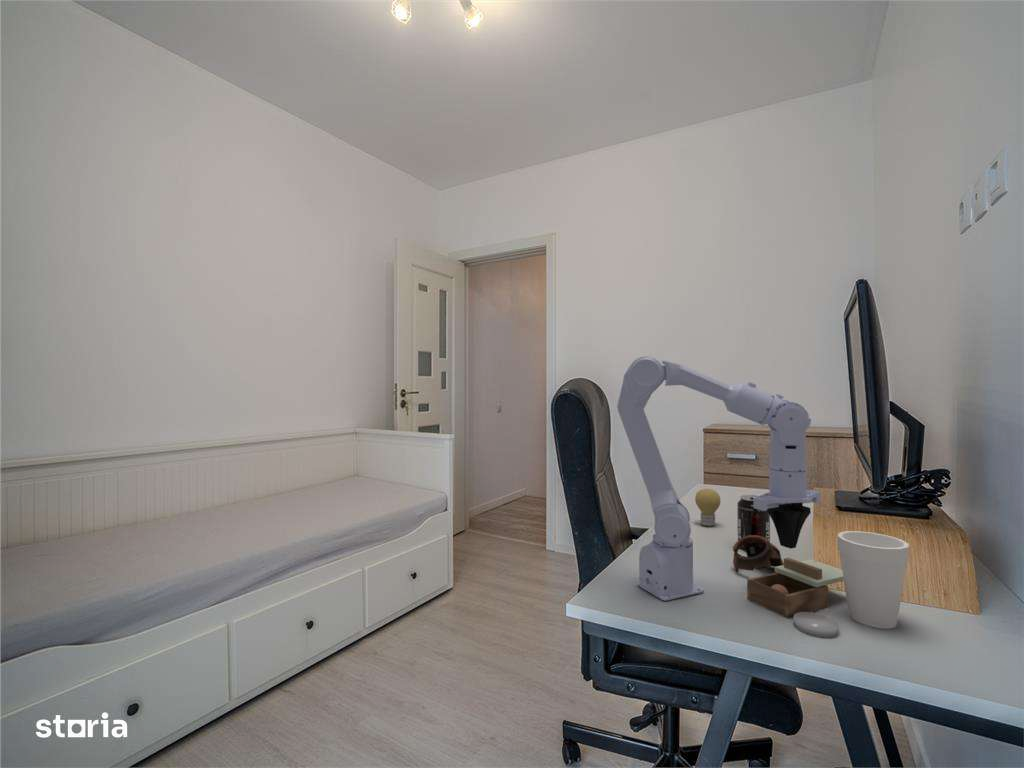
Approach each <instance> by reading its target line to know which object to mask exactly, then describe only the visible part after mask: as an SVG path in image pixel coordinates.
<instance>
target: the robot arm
mask: <svg viewBox="0 0 1024 768" xmlns="http://www.w3.org/2000/svg"><path fill="white" fill-rule="evenodd" d="M661 362H662V363H661ZM661 362H660V360H658V359H656V358H655V357H653V356H648V355H643V356H639V357H638V358H635V359H634V361H632V362H631V364H630V365H629V367H628V368H627V370H626V371H625V373H624V375H623V379H622V386H621V388H620V393H619V397H618V402H617V405H616V407H617V412H618V414H619V416H620V419H621V423H622V426H623V428H624V430H625V433H626V437H627V439H628V442H629V443H630V444H629V445H630V447H631V450H632V452H633V455H634V458H635V461H636V463H637V466H638V468H639V471H640V474H641V476H642V479H643V482H644V483H643V484H644V486H645V488H646V491H647V493H648V497H649V500H650V504H651V509H652V513H653V515H654V524H653V529H654V534H653V535H652V540H651V542H649V543H648V544H645V545H643V546H642V547H641V549H640V551H639V555H638V556H639V557H638V558H639V561H638V562H639V563H638V564H639V566H638V567H639V571H638V573H639V578H638V579H639V581H638V582H636V585H637V586H638V587H640V588H642V589H643V590H645V591H646V592H649V593H650V594H651V595H653V596H655V597H657V598H658V599H660V600H661V601H665V602H667V601H671V600H674V599H679V598H684V597H688V596H693V595H697V594H701V593H705V592H704V591H705V590H704V588H702V587H700V586H698V585H697V584H694V540H693V538H692V537H690V536H691V533H692V529H691V528H692V527H691V524H690V520H691V518H690V512H689V511H688V509H687V507H686V506H685V505H684V504H683V503H682V502H681V501H680V498H678V495H677V492H676V490H675V488H674V487H673V484H672V481H671V479H670V476H669V474H668V470H667V468H666V465H665V462H664V460H663V458H662V455H661V452H660V450H659V447H658V444H657V442H656V439H655V436H654V434H653V430H652V429H651V426H650V423H649V420H648V418H647V415H646V412H645V408H646V405H647V403H648V402H649V400H650V398H651V395H652V394H653V393H654V392H655V391H657V389H659V387H660V386H661V385H662V384H663V382H664V381H665V385H664V386H666V387H667V386H668V387H669V386H683V387H686V388H688V389H691V390H694V391H696V392H699V393H702V394H705V395H708V396H710V397H711V398H715V399H717V400H721V401H722V402H723V403H724V406H725V408H726V411H727V412H729V413H733V414H734V415H737V416H739V417H742V418H744V419H747V420H748V421H752V422H754V423H756V424H759V425H761V426H764V425H767V426H768V428H770V429H769V431H770V432H769V435H770V437H769V440H770V441H769V444H768V445H769V446H768V447H769V448H768V449H769V451H768V453H769V455H768V457H769V461H768V462H769V468H768V470H769V474H768V475H769V476H768V478H769V485H768V486H769V490H768V492H765V493H763V494H761V495H756V496H757V497H754V508H755V509H759V510H763V511H765V510H767V512H768V513H769V515H770V519H771V520H772V522H773V524H774V527H775V530H776V534H777V537H778V540H779V545H780V546H781V547H784V548H787V549H790V550H791V549H795V548H797V545H798V541H799V538H800V534H801V530H802V528H803V526H804V524H805V522H806V521H807V519H808V517H809V516H810V514H811V507H809V506H805V505H804V504H811V503H814V504H815V503H817V504H818V503H821V491H818V490H813V489H807V486H808V485H807V443H806V437H807V434H806V431H807V430H808V429H809V428H810V426H811V423H812V419H811V418H810V415H809V413H808V411H807V409H805V407H804V406H803V405H802V404H799V403H798V402H794V401H793V402H792V401H789V400H787V399H784V395H783V394H779V393H776V394H772V393H770V392H767V391H765V390H763V389H759V388H757V384H756V383H754V382H751V381H748V382H747V383H745V382H743V381H742V382H737V383H736V384H732V385H729V384H728V383H725V382H722V381H720V380H718V379H715V378H713V377H711V376H708V375H707V374H704V373H702V372H699V371H697V370H695V369H692V368H689V367H688V366H686V365H684V364H683V365H682V364H679V363H676V362H671V361H667V360H662V359H661Z"/></svg>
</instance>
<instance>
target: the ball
mask: <svg viewBox="0 0 1024 768" xmlns="http://www.w3.org/2000/svg"><path fill="white" fill-rule="evenodd" d="M771 588H773V589H776V590H778V591H780V592H783V593H785V594H789V593H788V591H787V589H786V588H785V587H784V586H782V585H779V584H776V585H773V586H772V587H771Z"/></svg>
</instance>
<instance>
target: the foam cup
mask: <svg viewBox="0 0 1024 768" xmlns="http://www.w3.org/2000/svg"><path fill="white" fill-rule="evenodd" d="M837 551H838V552H839V559H840V565H841V569H842V572H843V579H844V581H843V584H844V591H845V597H846V603H847V610H848V615H849V617H851V619H852V620H854V621H855V622H858V623H860V624H862V625H865V626H869V627H872V628H878V629H894V628H896V627H897V624H898V621H899V620H898V619H899V614H900V607H901V599H902V596H903V595H902V594H903V588H904V582H905V575H906V570H907V563H909V543H908V542H906V541H904V540H903V539H900V538H897V537H894V536H891V535H887V534H882V533H877V532H876V533H875V532H870V531H869V532H868V531H860V530H859V531H857V530H855V531H854V530H853V531H851V530H846V531H841V532H838V534H837Z"/></svg>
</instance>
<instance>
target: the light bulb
mask: <svg viewBox="0 0 1024 768" xmlns="http://www.w3.org/2000/svg"><path fill="white" fill-rule="evenodd" d="M694 498H695V504H696V506H697V508H698V509H699V510H700V524H701V525H702V526H704V527H713V526H715V525H716V514H715V513H716V511H717V510H718V509H719V508H720V505H721V496H720V494H719V493H718V492H717V491H716V490H714V489H711V488H702V489H700V490H698V491H697V492H696V494H695V497H694Z"/></svg>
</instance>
